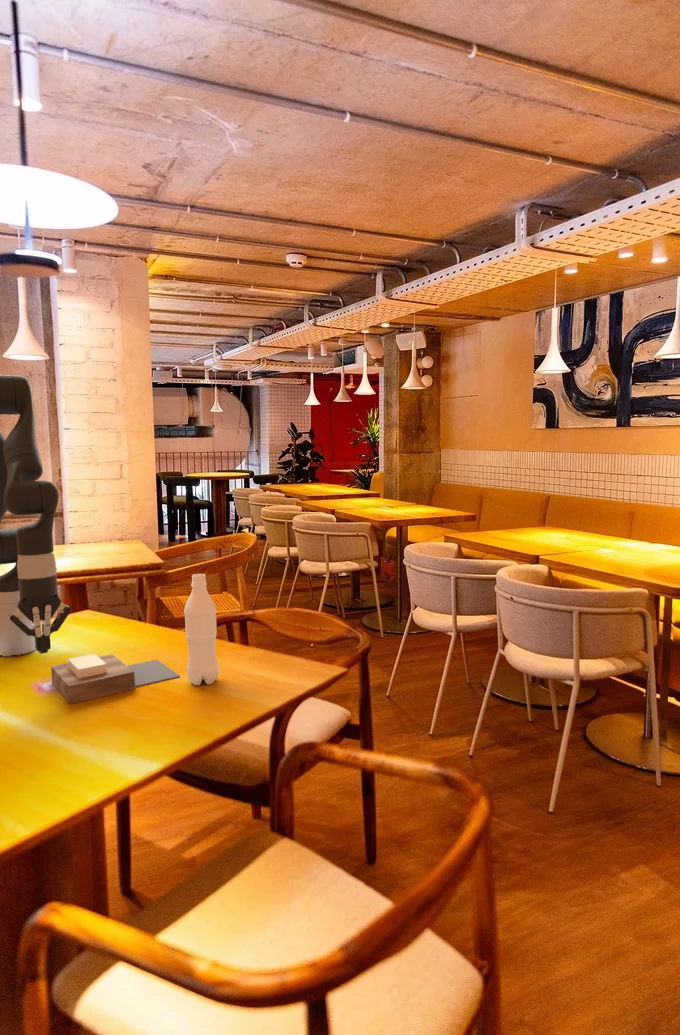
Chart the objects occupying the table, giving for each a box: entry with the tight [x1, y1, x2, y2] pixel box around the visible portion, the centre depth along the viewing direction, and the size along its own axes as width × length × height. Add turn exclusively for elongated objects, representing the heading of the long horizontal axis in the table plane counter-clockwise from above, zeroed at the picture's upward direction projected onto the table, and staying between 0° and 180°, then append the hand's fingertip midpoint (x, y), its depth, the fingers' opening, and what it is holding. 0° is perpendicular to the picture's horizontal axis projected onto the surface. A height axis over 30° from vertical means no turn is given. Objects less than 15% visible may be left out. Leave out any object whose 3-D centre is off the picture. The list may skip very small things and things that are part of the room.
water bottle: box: [183, 573, 220, 686], centre depth 151 cm, size 7×7×25 cm
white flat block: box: [67, 653, 107, 678], centre depth 150 cm, size 9×6×2 cm, turn 36°
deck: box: [50, 653, 136, 705], centre depth 151 cm, size 16×14×4 cm
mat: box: [127, 659, 181, 688], centre depth 158 cm, size 15×11×1 cm
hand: (43, 652), depth 144 cm, fingers closed
